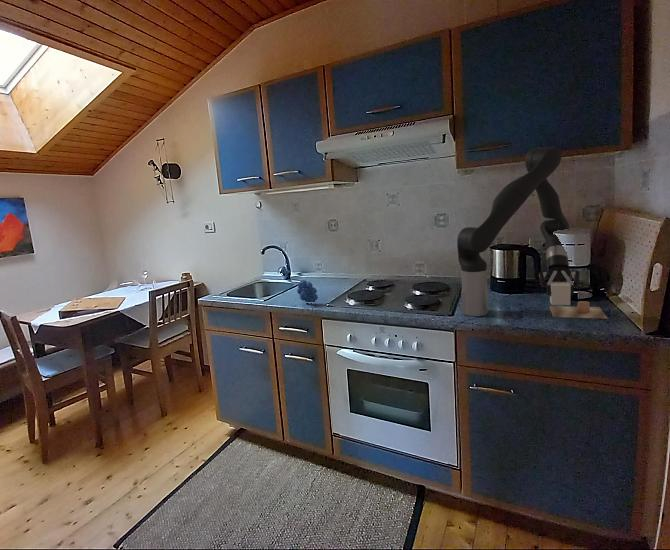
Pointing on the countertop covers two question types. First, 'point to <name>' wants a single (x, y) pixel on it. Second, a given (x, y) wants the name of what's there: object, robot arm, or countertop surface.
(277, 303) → the countertop surface
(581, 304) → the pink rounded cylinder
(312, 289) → the grapes
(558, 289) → the light grey cuboid block
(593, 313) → the board
